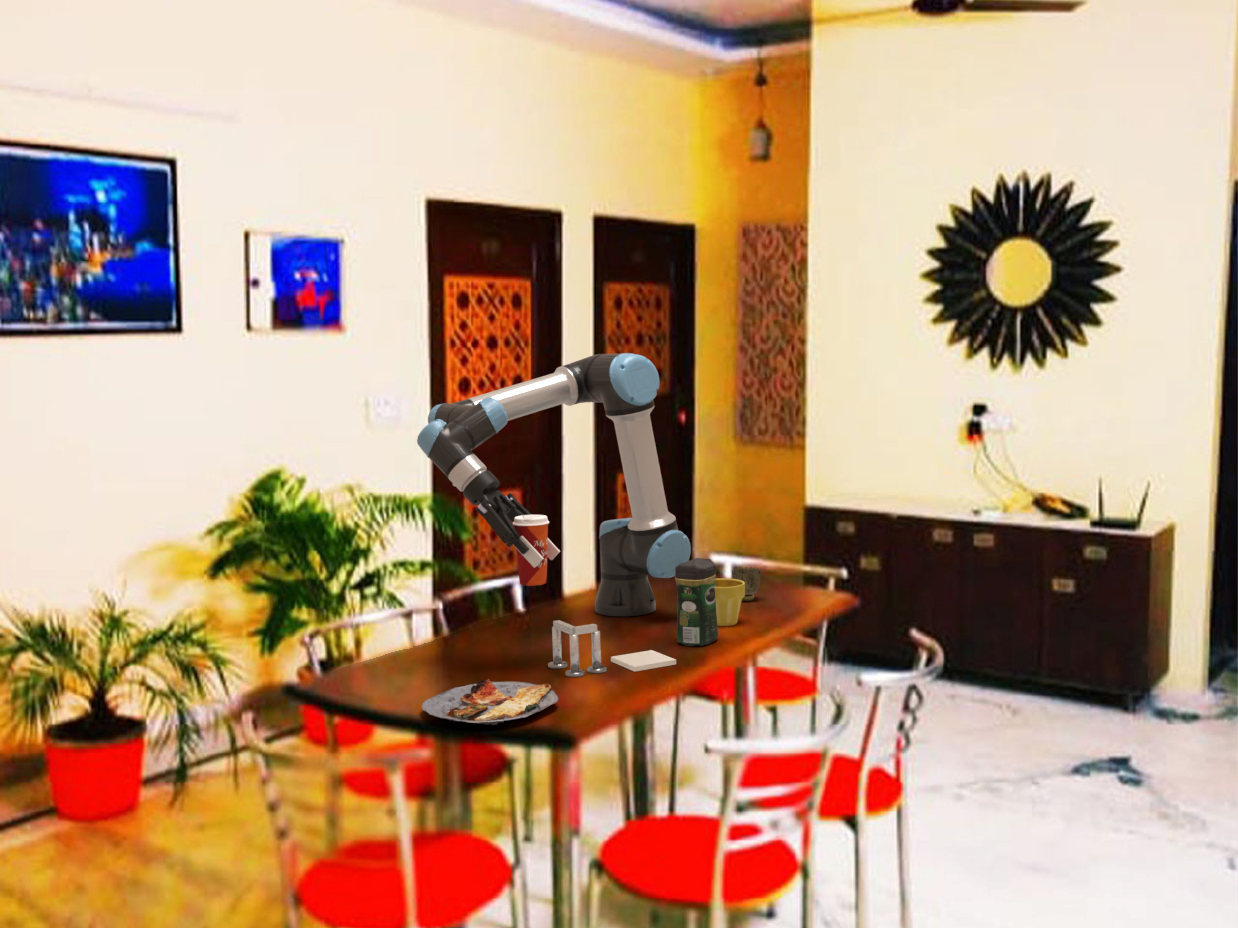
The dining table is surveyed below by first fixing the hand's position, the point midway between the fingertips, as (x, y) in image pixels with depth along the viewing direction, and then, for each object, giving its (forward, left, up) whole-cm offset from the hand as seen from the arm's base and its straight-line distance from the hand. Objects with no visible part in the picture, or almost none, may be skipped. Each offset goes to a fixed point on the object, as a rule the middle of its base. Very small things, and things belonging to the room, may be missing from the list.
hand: (547, 559), depth 270 cm
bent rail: (+6, +3, -22) cm, 23 cm away
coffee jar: (+1, +36, -23) cm, 42 cm away
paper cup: (-3, -2, -5) cm, 6 cm away
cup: (-29, +70, -23) cm, 79 cm away
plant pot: (-11, +51, -23) cm, 57 cm away
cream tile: (+10, +17, -22) cm, 30 cm away
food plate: (+23, -23, -23) cm, 40 cm away
